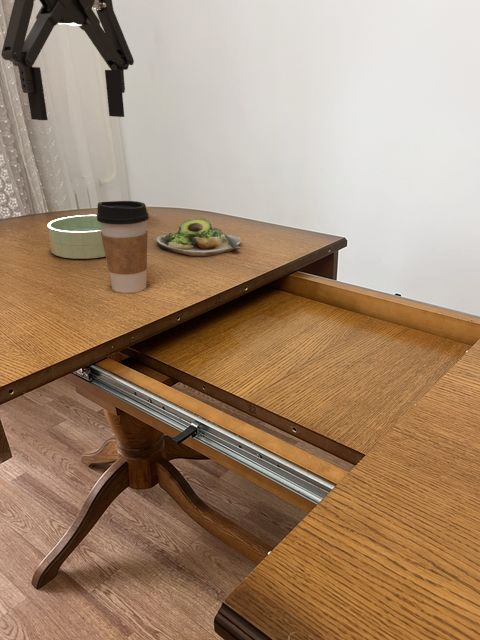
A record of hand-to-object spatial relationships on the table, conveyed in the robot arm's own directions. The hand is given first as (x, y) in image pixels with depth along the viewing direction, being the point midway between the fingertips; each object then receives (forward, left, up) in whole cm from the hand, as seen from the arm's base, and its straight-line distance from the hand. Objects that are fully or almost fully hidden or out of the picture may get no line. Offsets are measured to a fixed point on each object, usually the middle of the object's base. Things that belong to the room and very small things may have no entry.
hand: (80, 118), depth 81 cm
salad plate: (+14, +32, -28) cm, 45 cm away
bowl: (-9, +27, -28) cm, 40 cm away
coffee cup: (+4, +4, -28) cm, 29 cm away
